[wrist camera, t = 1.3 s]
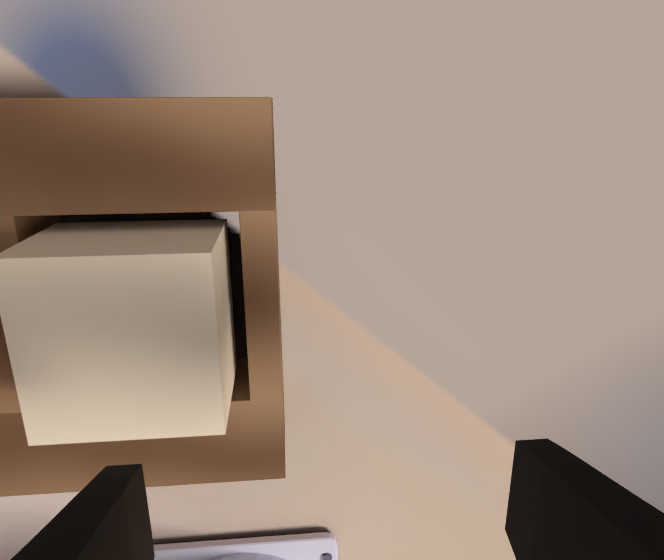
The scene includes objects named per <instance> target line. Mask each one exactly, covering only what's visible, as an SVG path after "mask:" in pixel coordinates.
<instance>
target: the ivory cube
mask: <svg viewBox="0 0 664 560" xmlns="http://www.w3.org/2000/svg"><path fill="white" fill-rule="evenodd" d="M0 316H1V321H2V325H3V330H4V335H5V339H6V344H7V349H8V353H9V358H10V362H11V367H12V372H13V376H14V381H15V386H16V390H17V395H18V400H19V404H20V409H21V413H22V418H23V423H24V427H25V432H26V437H27V441H28V446H36V445H54V444H71V443H88V442H106V441H123V440H141V439H158V438H175V437H193V436H210V435H225V434H226V428H227V422H228V416H229V410H230V404H231V398H232V391H233V385H234V379H235V373H236V367H237V363H236V349H235V334H234V319H233V304H232V289H231V274H230V260H229V245H228V230H227V219H208V220H165V221H121V222H77V223H55V224H53V225H52V226H50V227H48V228H46V229H44V230H42V231H40V232H38V233H36V234H35V235H33V236H31V237H29V238H27V239H25V240H23V241H21V242H19V243H18V244H16V245H14V246H12V247H10V248H8V249H6V250H4V251H2V252H1V253H0Z"/></svg>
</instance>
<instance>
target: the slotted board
mask: <svg viewBox="0 0 664 560" xmlns="http://www.w3.org/2000/svg"><path fill="white" fill-rule="evenodd" d="M272 105H273V102H272V98H271V97H180V98H179V97H169V98H168V97H163V98H162V97H161V98H160V97H157V98H156V97H153V98H152V97H151V98H150V97H148V98H147V97H146V98H145V97H144V98H0V253H1V252H2V251H4V250H6V249H8V248H10V247H12V246H14V245H16V244H18V243H19V242H21V241H23V240H25V239H27V238H29V237H31V236H33V235H35V234H36V233H38V232H40V231H42V230H44V229H46V228H48V227H50V226H52V225H53V224H55V223H62V222H61V216H60V215H87V214H133V213H180V212H225V211H239V218H240V219H239V220H240V236H241V253H242V270H243V286H244V303H245V320H246V337H247V353H248V358H236V363H237V367H236V373H235V379H234V385H233V391H232V398H231V404H230V410H229V416H228V422H227V428H226V434H225V435H210V436H193V437H175V438H158V439H141V440H123V441H106V442H88V443H71V444H54V445H36V446H28V441H27V437H26V432H25V427H24V423H23V418H22V413H21V409H20V404H19V400H18V395H17V390H16V386H15V381H14V376H13V372H12V367H11V362H10V358H9V353H8V349H7V344H6V339H5V335H4V330H3V325H2V321H1V316H0V497H2V496H17V495H33V494H48V493H64V492H79V491H81V490H82V489H83V488H84V487H85V486H86V485H87V484H88V483H89V482H90V481H91V480H92V479H93V478H94V477H95V476H96V475H97V474H98V473H100V472H101V471H102V470H103V469H104V468H105V467H106V466H113V465H129V464H142V467H143V474H144V482H145V487H156V486H171V485H187V484H202V483H217V482H233V481H248V480H264V479H279V478H285V423H284V396H283V369H282V343H281V316H280V289H279V263H278V237H277V211H276V182H275V157H274V129H273V106H272Z"/></svg>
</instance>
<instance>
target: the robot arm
mask: <svg viewBox="0 0 664 560" xmlns="http://www.w3.org/2000/svg"><path fill="white" fill-rule="evenodd" d="M505 530H506V533H507V536H508V538H509V541H510V544H511V546H512V549H513V552H514V554H515V557H516V560H664V513H663V512H661V511H659V510H658V509H656V508H655V507H653V506H652V505H650V504H649V503H647V502H645V501H644V500H642V499H641V498H639V497H638V496H636V495H634V494H633V493H631V492H630V491H628V490H627V489H625V488H624V487H622V486H621V485H619V484H618V483H616V482H615V481H613V480H612V479H610V478H608V477H607V476H605V475H604V474H602V473H601V472H599V471H598V470H596V469H595V468H593V467H592V466H590V465H589V464H587V463H586V462H584V461H583V460H581V459H579V458H578V457H576V456H575V455H573V454H572V453H570V452H569V451H567V450H566V449H564V448H562V447H561V446H559V445H557V444H556V443H554V442H552V441H550V440H549V439H535V440H519V441H516V443H515V452H514V460H513V468H512V476H511V484H510V493H509V501H508V509H507V517H506V526H505ZM323 553H329V554H328V555H322V554H323ZM11 560H338V545H337V539H336V537H335V535H334V534H332V533H330V532H319V533H306V534H292V535H279V536H265V537H252V538H239V539H225V540H212V541H198V542H185V543H171V544H158V545H153V539H152V532H151V525H150V518H149V510H148V503H147V496H146V489H145V482H144V474H143V467H142V464H129V465H113V466H106V467H105V468H104V469H103V470H102V471H101V472H100V473H98V474H97V475H96V476H95V477H94V478H93V479H92V480H91V481H90V482H89V483H88V484H87V485H86V486H85V487H84V488H83V489H82V490H81V491H80V492H79V493H78V494H77V495H76V496H75V497H74V498H73V499H72V500H71V501H70V502H69V503H68V504H67V505H66V506H65V507H64V508H63V509H62V510H61V511H60V512H59V513H58V514H57V515H56V516H55V517H54V518H53V519H52V520H51V521H50V522H49V523H48V524H47V525H46V526H45V527H44V528H43V529H42V530H41V531H40V532H39V533H38V534H37V535H36V536H35V537H34V538H33V539H32V540H31V541H30V542H29V543H28V544H27V545H26V546H24V547H23V548H22V549H21V550H20V551H19V552H18V553H17V554H16V555H15V556H14V557H13V558H12V559H11Z"/></svg>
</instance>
